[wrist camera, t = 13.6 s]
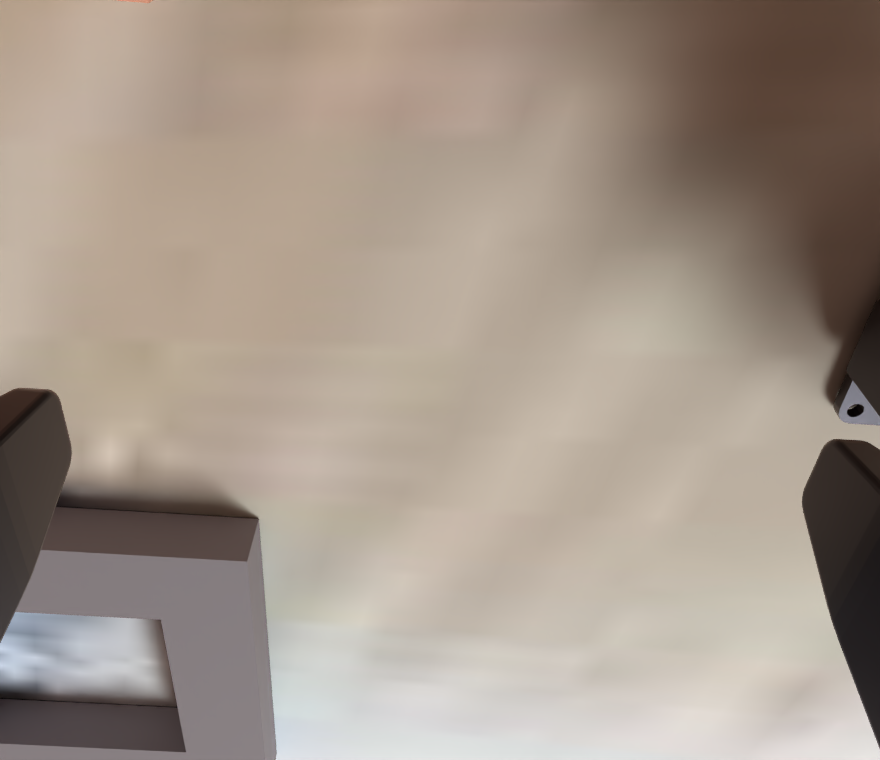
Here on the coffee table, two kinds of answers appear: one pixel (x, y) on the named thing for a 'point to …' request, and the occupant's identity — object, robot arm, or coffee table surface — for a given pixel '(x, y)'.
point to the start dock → (184, 627)
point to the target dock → (144, 0)
